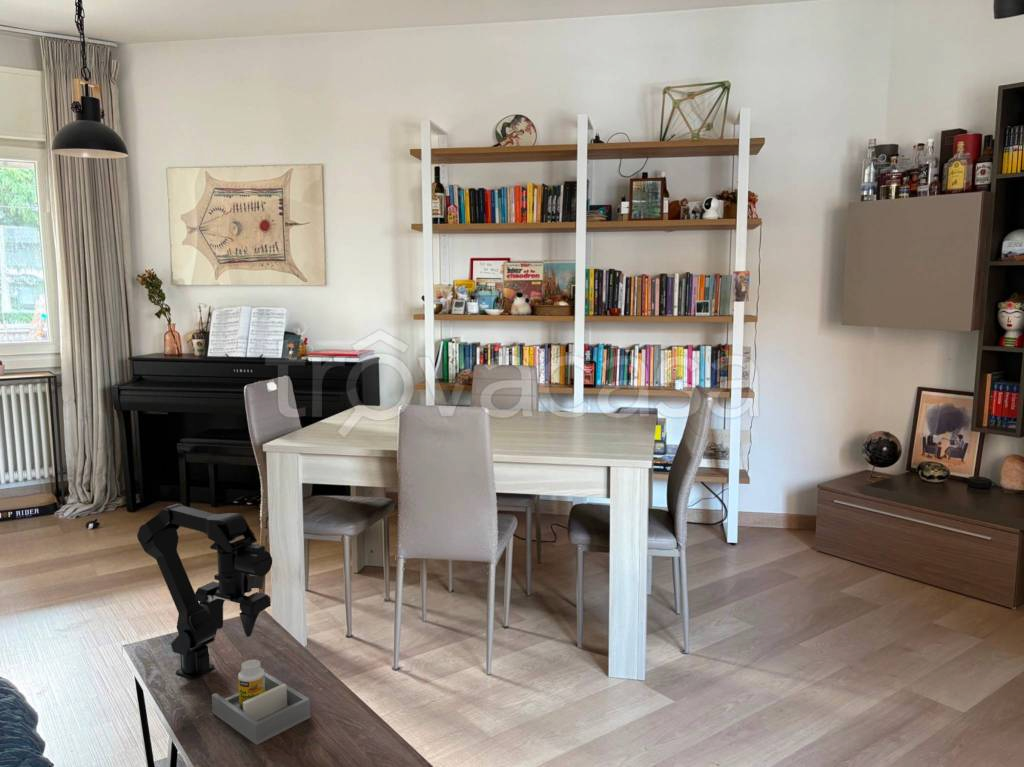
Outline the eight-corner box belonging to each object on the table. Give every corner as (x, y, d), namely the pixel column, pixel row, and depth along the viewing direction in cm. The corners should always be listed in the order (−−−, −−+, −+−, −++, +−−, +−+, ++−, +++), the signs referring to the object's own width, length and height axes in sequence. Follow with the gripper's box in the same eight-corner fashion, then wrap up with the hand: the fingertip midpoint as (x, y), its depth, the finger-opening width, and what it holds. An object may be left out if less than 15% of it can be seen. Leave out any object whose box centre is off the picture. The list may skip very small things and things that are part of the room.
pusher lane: (212, 713, 165) (211, 694, 165) (265, 689, 175) (264, 671, 174) (256, 745, 154) (255, 725, 153) (310, 717, 163) (309, 699, 163)
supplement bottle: (236, 714, 163) (233, 670, 162) (243, 700, 169) (241, 657, 167) (262, 713, 164) (260, 669, 162) (268, 699, 169) (266, 657, 168)
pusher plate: (243, 724, 159) (242, 702, 159) (284, 704, 167) (283, 683, 166) (246, 725, 159) (245, 703, 158) (287, 705, 166) (286, 684, 166)
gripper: (286, 563, 177) (288, 626, 179) (229, 551, 185) (232, 611, 187) (250, 580, 167) (254, 646, 169) (192, 566, 175) (195, 629, 177)
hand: (234, 632), depth 176 cm, fingers open, 9 cm apart
